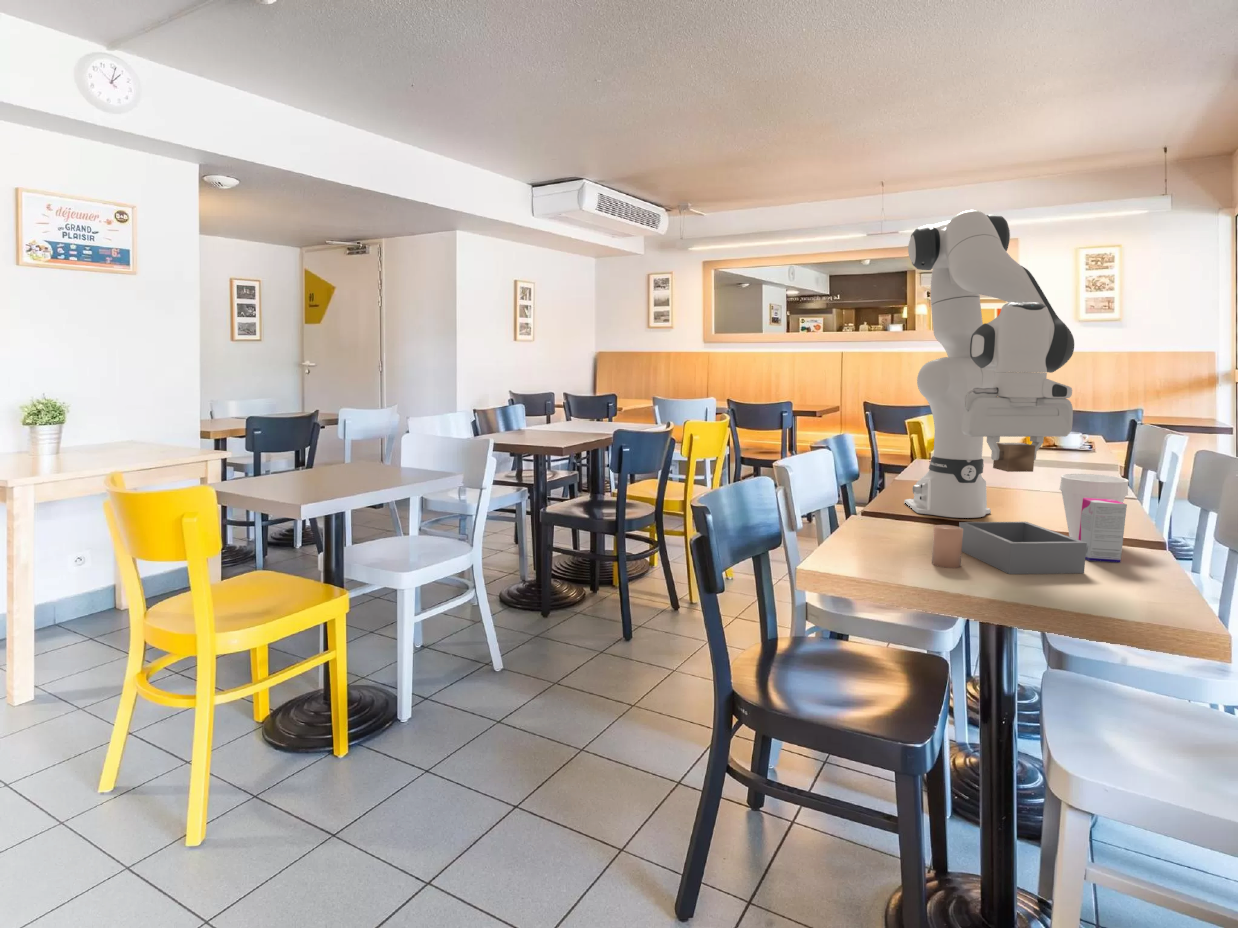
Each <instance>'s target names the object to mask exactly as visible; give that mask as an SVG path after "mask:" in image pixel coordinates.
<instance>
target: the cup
mask: <svg viewBox="0 0 1238 928" xmlns="http://www.w3.org/2000/svg"><path fill="white" fill-rule="evenodd" d="M1129 482H1130V481H1129V479H1127V478H1124V477H1119V476H1115V475H1105V474H1095V473H1093V474H1092V473H1064V474H1061V475H1060V483H1059V484H1060V485H1059V490H1060V492H1061V496H1062V502H1063V503H1062V504H1063V507H1064V508H1063V509H1064V513H1065V519H1066V525H1067V531H1068V536H1069V537H1072V538H1074V539H1077V540H1078V539H1079V530H1080V520H1081V511H1082V502H1083V498H1095V499H1113V500H1116V501H1119V502H1122V503H1124V501H1125V498H1126V497H1127V496H1129Z"/></svg>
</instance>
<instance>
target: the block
mask: <svg viewBox="0 0 1238 928" xmlns="http://www.w3.org/2000/svg"><path fill="white" fill-rule="evenodd" d="M996 443H997V445H998V447H999V449H1000V451H1004V455H1003V457H1004V459H1003V460H993V462H992V463H993V465H992V469H995V470H1000V471H1003V472H1007V473H1015V472H1016V473H1018V472H1019V473H1021V472H1023V473H1024V472H1025V473H1026V472H1027V473H1028V472H1031V473H1032V472H1034V465H1035V460H1034V455H1035V445H1031V444H1029V443H1023V442H996Z"/></svg>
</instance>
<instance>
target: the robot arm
mask: <svg viewBox="0 0 1238 928" xmlns="http://www.w3.org/2000/svg"><path fill="white" fill-rule="evenodd" d="M909 238H910V239H909V240H908V241H909V242H908V246H907V250H908V251H907V254H908V257H909V259H910V261H911V265H912V266H913V267H914V268H915V269H916V270H920V271H921V270H922V271H931V270H932V271H931V280H930V307H931V319H932V328H933V330H932V331H933V336H934V338H935V339H936V341H938V342H939V343H940V344H941V346H942V347H943V349H944V350H945V352H946V355H947V357H946V356H945V357H940V358H936V359H933V360H931V361H928V362H926V363H924V364H923V365H922V367H921V368H920V369H919V371H918V373H917V374H918V375H917V377H916V378H917V379H916V381H917V383H916V384H917V388H918V390H919V393H920V394H921V396H923V397H924V398H925V400H926V401H927V403H928V405H929V407H930V411H931V414H932V419H933V425H934V426H933V427H934V437H933V438H934V439H933V440H934V442H933V445H934V446H933V455H932V456H931V457H929V459H930V460H929V466H928V469H929V470H928V471H927V472H926V473H925V474H924V475H923V476H922V477H921V478H920V479H919V480H917V481H916V483H915V484H914V485H912V494H913V498H906V499H904V500H903V501H904V502H903V503H904V504H905V503H906V504H907V505H908V506H907V505H906V504H905V505H906V506H907V507H909V506H910V507H909V508H910V509H911V508H912V509H911V510H913V511H914V512H915V513H917V514H922V515H923V514H924V515H933V516H938V517H945V518H957V519H958V518H960V519H964V518H965V519H966V518H967V519H969V518H970V519H971V518H972V519H973V518H974V519H975V518H981V517H982V518H983V517H986V515H988V514H991V508H989V507H987V506H988V505H987V503H988V502H987V496H988V495H987V481H986V479H985V478H984V477H983V476H982V474H983V473H984V467H985V465H984V458H983V448H984V447H983V445H984V438H985V437H986V443H987V445H988V447H989V449H990V451H991V460H992V461H994V460H1003V459H1004V457H1003V455H1004V451H1000V449H999V447H998V445H997V443H1001V441H1000V439H1001V437H1005V438H1006V437H1007V438H1009V437H1010V438H1011V437H1012V438H1013V437H1014V438H1015V437H1016V438H1018V437H1021V438H1022V437H1024V438H1025V437H1026V438H1027V437H1028V438H1029V442H1031V444H1030V445H1035V455H1034V461H1036V459H1037V452H1038V451H1039V449H1040V448H1041V446H1042V445H1043V444H1044V439H1045V438H1044V437H1050V438H1051V437H1057V438H1058V437H1061V438H1063V437H1065V438H1066V437H1068V436H1069V434H1070V433H1071V432H1072V430H1073V419H1074V410H1073V404H1072V402H1071V400H1069V399H1070V398H1071V397H1072V396H1073V388H1072V387H1071V386H1069V385H1066V384H1063V383H1060V382H1058V381H1054V380H1051V379H1050V378H1048V377H1047V375H1048V373H1051V374H1053V373H1054V372H1056V371H1057V370H1059V369H1061V368H1062V367H1063V366H1065V365H1066V364H1067V363H1068V362H1069V360H1070V359H1071V358H1072V356H1073V355H1074V350H1075V339H1074V336H1073V333H1072V331H1071V330H1070V328H1069V327H1068V326H1067V325H1066V323H1065V322H1064V321H1062V320H1061V318H1060V317H1059V316H1058V314H1057V313H1056V312H1055V310H1054V308H1053V307H1052V304H1051V303H1050V302H1049V300H1048V299H1047V297H1046V295H1045V294H1044V291H1043V289H1042V288H1041V286H1040V285H1039V283H1038V281H1037V280H1036V278H1035V277H1034V275H1033V274H1032V273H1031V271H1030V270H1029V269H1027V268H1026V267H1024V266H1023V265H1021V264H1020V263H1018V262H1017V261H1016V260H1014V258H1013V257H1012V256H1010V254H1009V253H1008V252H1007V251H1008V249H1009V245H1010V240H1011V230H1010V227H1009V223H1008V221H1007V220H1006V219H1005V218H1004V217H1003V216H1002V215H997V214H985V212H982V211H979V210H974V209H970V210H965V211H962V212H960V213H958V214H956V215H955V216H953V217H952V218H951V219H950V220H946V221H942V222H938V223H934V224H926V225H925V224H924V225H923V226H922V225H921V226H919V227H917V228H916V229H915V230H914V231H913V232H912V233H911V235H910V237H909ZM980 296H987V297H990V298H994V299H998V300H1002V301H1004V302H1006V303H1004V304H1003V305H1002V307H1001V309H1000V312H999V314H998V315H997V317H995V318H994V319H992V320H991V321H989V322H987V323H983V315H982V305H981V297H980Z"/></svg>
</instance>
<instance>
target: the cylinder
mask: <svg viewBox="0 0 1238 928" xmlns="http://www.w3.org/2000/svg"><path fill="white" fill-rule="evenodd" d="M932 538H933V539H932V551H931V552H932V553H931V564H932V566H933V565H934V566H936V567H940V568H946V569H947V568H948V569H957V568H960V567H961V566H962V553H963V552H962V540H963V528H961V527H959V526H957V525H951V524H937V525H934V526H933V537H932Z"/></svg>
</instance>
